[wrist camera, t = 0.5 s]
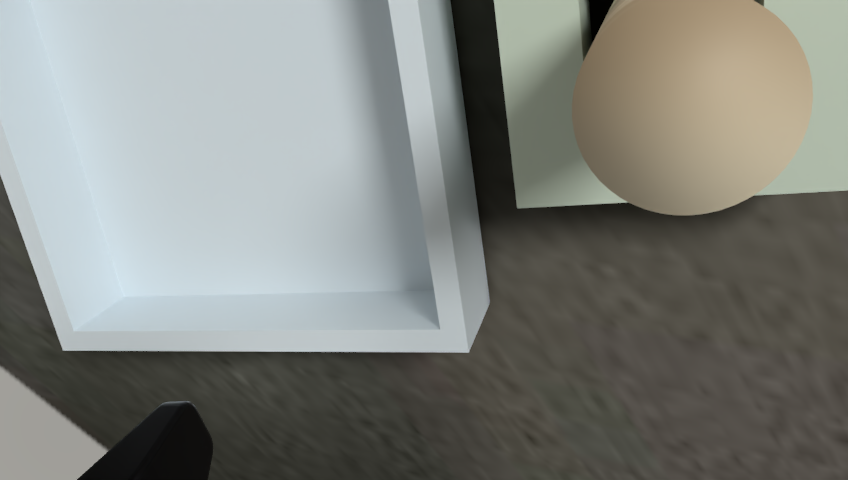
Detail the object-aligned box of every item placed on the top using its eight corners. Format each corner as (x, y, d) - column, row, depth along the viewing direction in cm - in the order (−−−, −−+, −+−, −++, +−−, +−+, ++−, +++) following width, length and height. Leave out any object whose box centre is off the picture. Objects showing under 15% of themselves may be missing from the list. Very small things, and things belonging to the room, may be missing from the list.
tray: (490, 302, 26) (468, 352, 23) (122, 308, 31) (62, 350, 28) (424, -200, 21) (384, -224, 18) (-8, -99, 25) (-99, -104, 22)
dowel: (727, 71, 21) (809, 208, 10) (612, 83, 22) (580, 220, 11) (726, -47, 20) (816, -29, 9) (605, -30, 21) (562, 6, 10)
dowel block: (825, 152, 21) (856, 189, 18) (533, 172, 24) (517, 208, 21) (837, -175, 18) (876, -197, 15) (505, -112, 21) (480, -120, 18)
